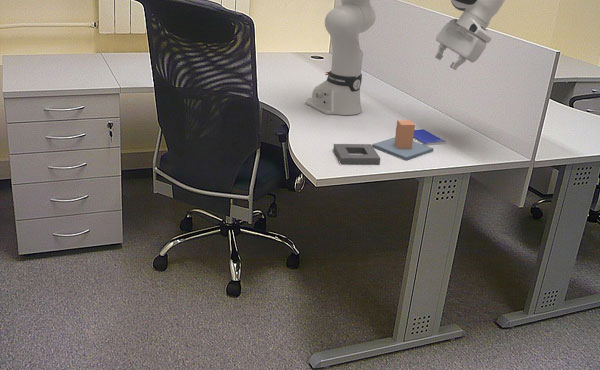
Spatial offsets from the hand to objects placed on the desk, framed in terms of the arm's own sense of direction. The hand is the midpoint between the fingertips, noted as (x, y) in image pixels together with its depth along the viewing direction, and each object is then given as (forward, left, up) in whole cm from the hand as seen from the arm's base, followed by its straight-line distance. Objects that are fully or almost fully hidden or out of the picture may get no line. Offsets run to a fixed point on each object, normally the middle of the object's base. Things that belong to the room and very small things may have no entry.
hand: (444, 63), depth 210 cm
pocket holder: (-4, -34, -26) cm, 43 cm away
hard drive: (-2, -1, -27) cm, 27 cm away
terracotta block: (0, -16, -25) cm, 30 cm away
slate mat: (0, -16, -26) cm, 31 cm away
